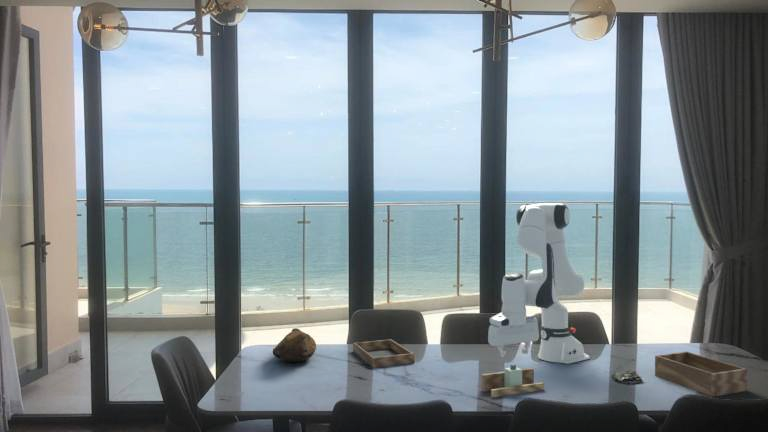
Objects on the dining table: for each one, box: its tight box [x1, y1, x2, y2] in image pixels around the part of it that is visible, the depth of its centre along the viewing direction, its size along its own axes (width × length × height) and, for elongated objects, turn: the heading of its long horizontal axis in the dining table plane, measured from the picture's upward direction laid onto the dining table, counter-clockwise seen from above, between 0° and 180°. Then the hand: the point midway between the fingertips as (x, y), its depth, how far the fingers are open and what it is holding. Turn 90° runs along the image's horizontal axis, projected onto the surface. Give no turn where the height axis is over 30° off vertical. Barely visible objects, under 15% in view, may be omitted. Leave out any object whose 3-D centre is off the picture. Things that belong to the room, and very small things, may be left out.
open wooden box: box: [654, 351, 748, 397], centre depth 219 cm, size 17×26×8 cm, turn 21°
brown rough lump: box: [272, 327, 317, 363], centre depth 252 cm, size 37×18×15 cm, turn 174°
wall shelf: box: [480, 367, 545, 398], centre depth 211 cm, size 22×8×6 cm, turn 111°
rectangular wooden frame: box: [352, 338, 415, 368], centre depth 256 cm, size 19×27×4 cm
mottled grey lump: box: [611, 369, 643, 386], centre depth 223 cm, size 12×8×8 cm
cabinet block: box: [504, 364, 523, 388], centre depth 211 cm, size 5×4×10 cm
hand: (514, 355), depth 211 cm, fingers open, 8 cm apart
